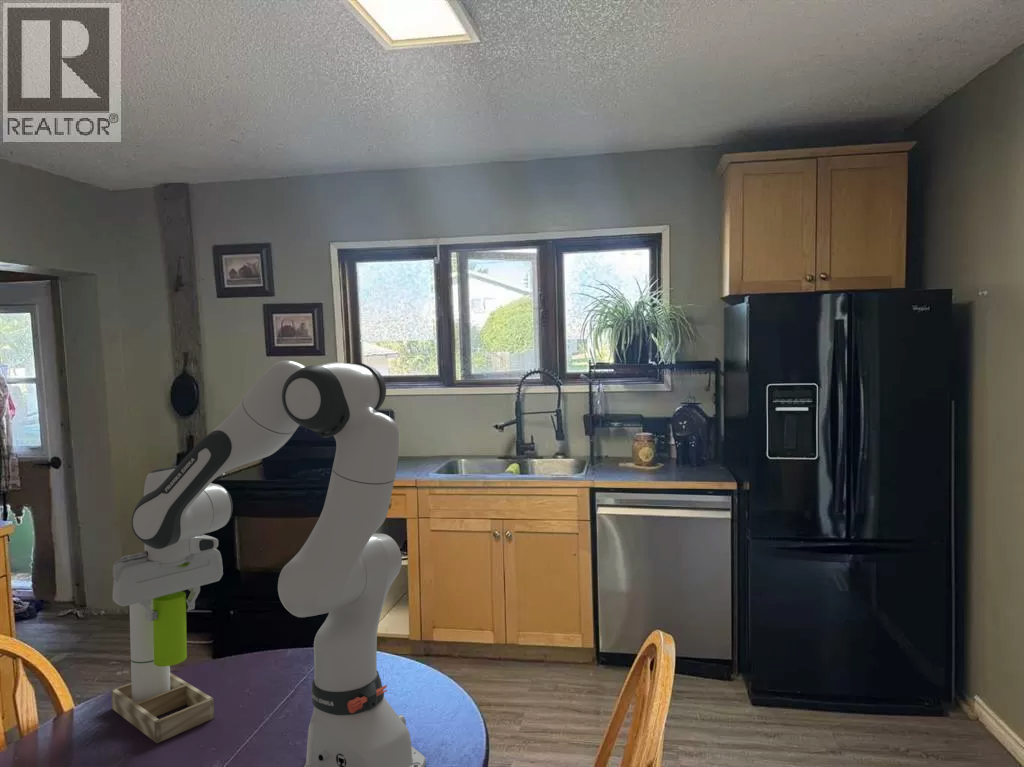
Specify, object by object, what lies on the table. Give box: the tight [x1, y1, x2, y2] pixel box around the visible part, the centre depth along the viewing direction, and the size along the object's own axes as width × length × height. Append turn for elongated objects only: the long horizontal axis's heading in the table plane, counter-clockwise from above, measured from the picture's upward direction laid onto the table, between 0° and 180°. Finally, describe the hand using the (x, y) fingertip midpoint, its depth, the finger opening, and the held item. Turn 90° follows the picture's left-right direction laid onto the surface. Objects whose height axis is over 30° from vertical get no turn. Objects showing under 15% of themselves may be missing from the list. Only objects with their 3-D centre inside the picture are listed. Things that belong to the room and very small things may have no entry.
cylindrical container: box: [129, 599, 171, 703], centre depth 135 cm, size 7×7×25 cm
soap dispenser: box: [153, 562, 190, 667], centre depth 129 cm, size 6×7×20 cm
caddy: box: [110, 672, 215, 744], centre depth 132 cm, size 21×11×4 cm, turn 52°
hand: (171, 614), depth 129 cm, fingers closed on soap dispenser, 6 cm apart
